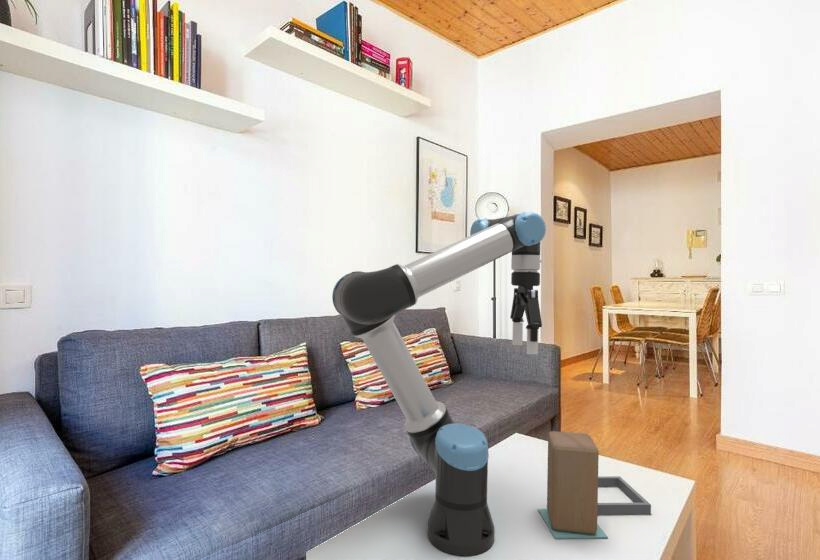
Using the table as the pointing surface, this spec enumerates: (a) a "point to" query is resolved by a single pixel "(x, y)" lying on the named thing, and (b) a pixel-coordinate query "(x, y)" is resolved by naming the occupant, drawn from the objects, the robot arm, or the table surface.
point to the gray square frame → (634, 508)
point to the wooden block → (572, 482)
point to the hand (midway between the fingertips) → (524, 349)
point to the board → (570, 535)
